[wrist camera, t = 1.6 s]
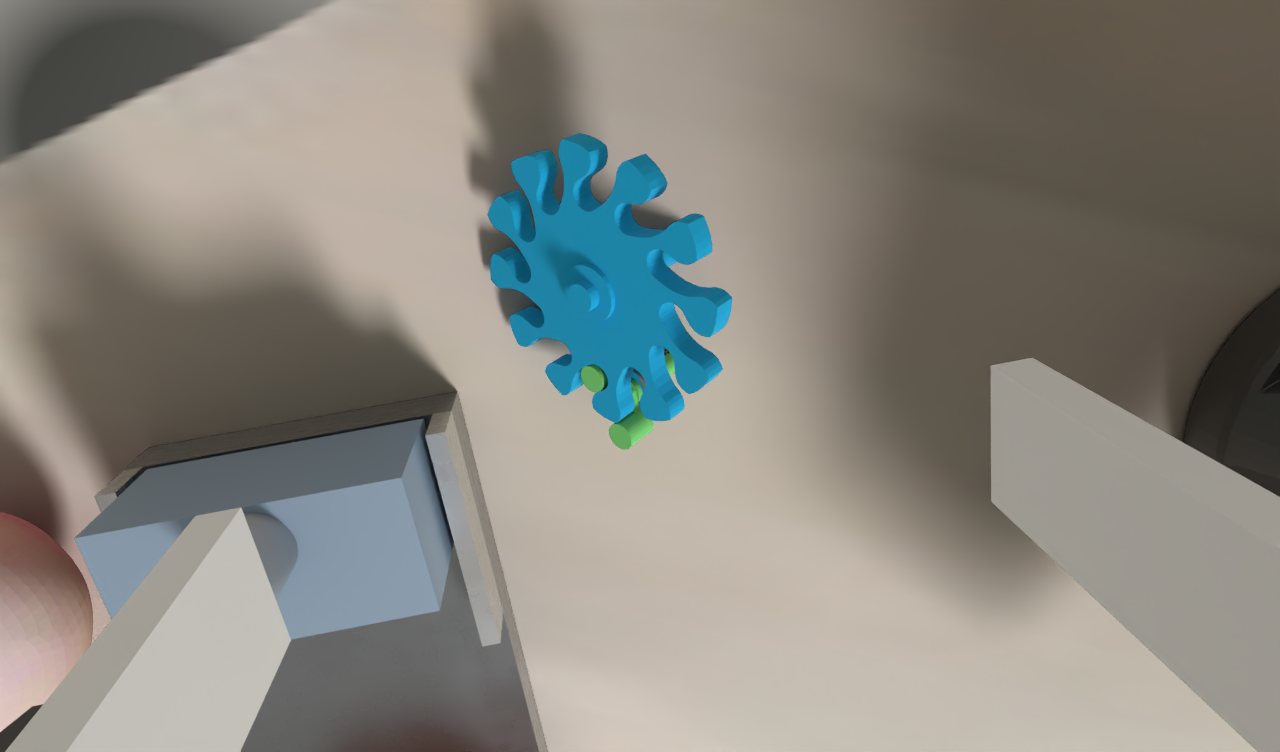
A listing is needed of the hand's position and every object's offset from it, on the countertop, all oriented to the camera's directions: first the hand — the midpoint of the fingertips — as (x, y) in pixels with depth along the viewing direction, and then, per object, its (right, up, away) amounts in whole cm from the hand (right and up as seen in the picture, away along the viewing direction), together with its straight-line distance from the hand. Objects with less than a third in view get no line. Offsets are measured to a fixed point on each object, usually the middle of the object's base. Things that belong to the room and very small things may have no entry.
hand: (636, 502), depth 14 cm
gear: (-2, +6, +17) cm, 18 cm away
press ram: (-12, -3, +16) cm, 21 cm away
